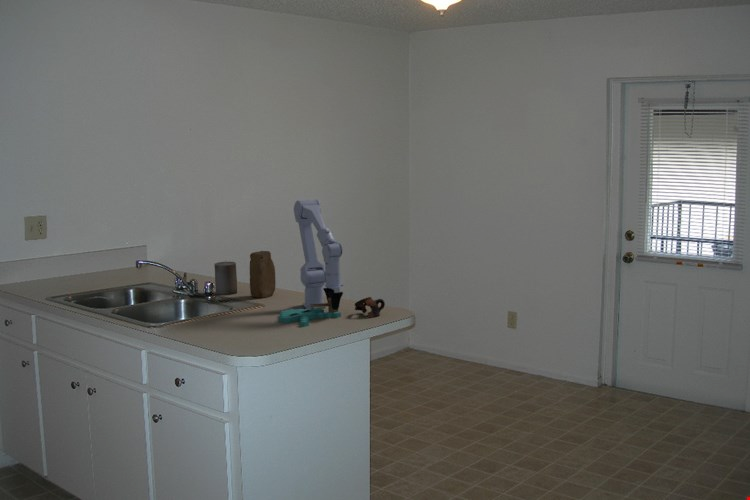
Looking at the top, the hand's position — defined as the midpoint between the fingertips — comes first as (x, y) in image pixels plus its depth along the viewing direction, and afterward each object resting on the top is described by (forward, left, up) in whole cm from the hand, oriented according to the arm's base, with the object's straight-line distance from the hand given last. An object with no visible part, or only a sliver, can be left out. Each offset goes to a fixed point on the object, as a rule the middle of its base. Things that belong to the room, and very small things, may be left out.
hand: (333, 307), depth 306 cm
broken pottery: (+7, +13, -3) cm, 15 cm away
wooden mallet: (0, -4, -3) cm, 5 cm away
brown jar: (-44, -22, -3) cm, 49 cm away
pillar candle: (-57, -37, -3) cm, 68 cm away
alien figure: (+4, -13, -3) cm, 13 cm away
